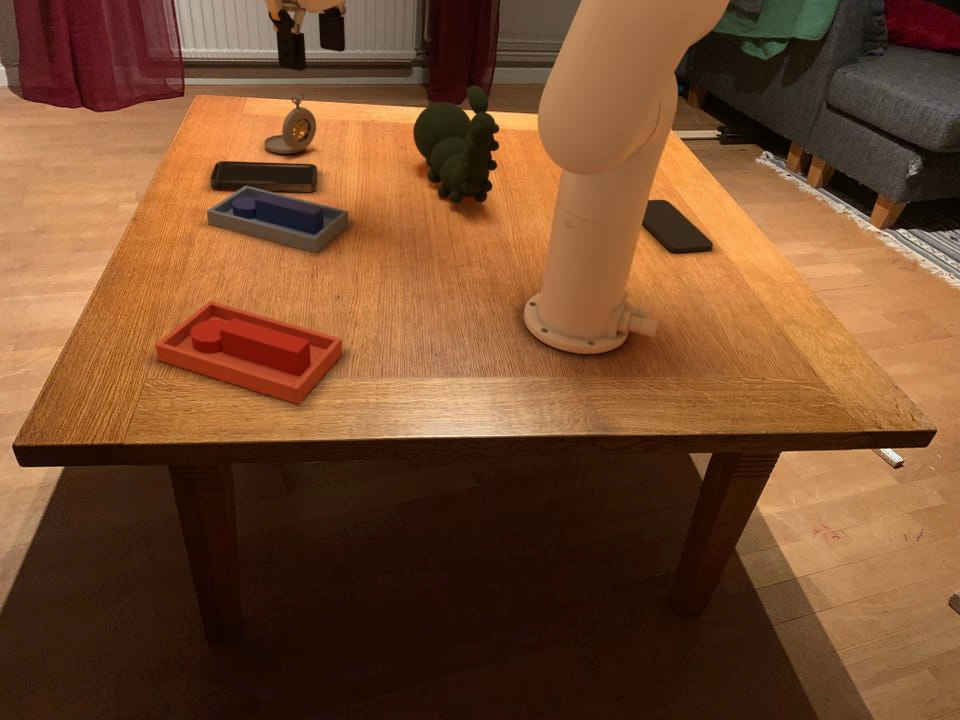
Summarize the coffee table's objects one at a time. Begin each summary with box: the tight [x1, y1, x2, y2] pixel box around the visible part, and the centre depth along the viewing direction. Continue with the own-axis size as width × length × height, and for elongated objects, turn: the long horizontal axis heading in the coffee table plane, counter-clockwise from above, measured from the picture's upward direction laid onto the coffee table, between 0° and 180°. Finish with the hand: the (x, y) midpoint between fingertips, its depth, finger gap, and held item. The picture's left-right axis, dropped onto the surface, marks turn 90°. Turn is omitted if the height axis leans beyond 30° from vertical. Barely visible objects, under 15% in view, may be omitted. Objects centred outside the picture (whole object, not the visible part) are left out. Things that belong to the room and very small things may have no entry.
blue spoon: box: [232, 193, 324, 234], centre depth 100 cm, size 13×4×3 cm, turn 71°
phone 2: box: [642, 199, 714, 253], centre depth 111 cm, size 7×1×15 cm
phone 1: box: [209, 160, 318, 193], centre depth 111 cm, size 8×1×15 cm
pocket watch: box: [263, 92, 317, 155], centre depth 118 cm, size 8×8×10 cm
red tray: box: [154, 300, 343, 405], centre depth 77 cm, size 16×9×2 cm, turn 71°
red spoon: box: [191, 318, 311, 376], centre depth 76 cm, size 13×4×3 cm, turn 71°
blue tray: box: [206, 186, 350, 254], centre depth 100 cm, size 16×9×2 cm, turn 71°
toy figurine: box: [412, 85, 500, 205], centre depth 111 cm, size 9×19×25 cm
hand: (313, 58), depth 88 cm, fingers open, 9 cm apart
